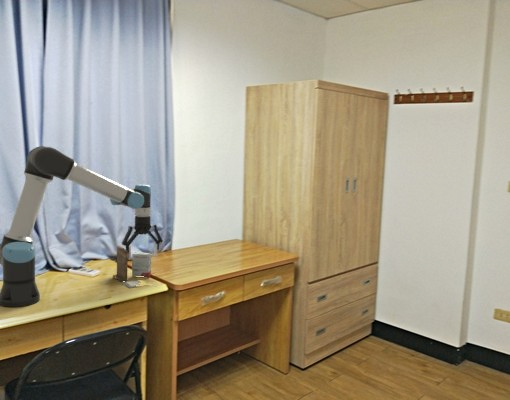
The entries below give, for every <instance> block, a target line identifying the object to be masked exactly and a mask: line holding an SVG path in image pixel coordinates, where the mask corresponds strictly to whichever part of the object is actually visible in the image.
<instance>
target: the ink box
mask: <svg viewBox="0 0 510 400" xmlns="http://www.w3.org/2000/svg"><path fill="white" fill-rule="evenodd" d="M132 276H144V277H147V279H149V278H150V277H151V276H152V253H151V252H138V251H137V252H134V253H131V277H132Z"/></svg>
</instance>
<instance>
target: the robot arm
mask: <svg viewBox="0 0 510 400" xmlns="http://www.w3.org/2000/svg"><path fill="white" fill-rule="evenodd" d="M23 174H24V176H25V177H26V179H25V182H24V185H23V188H22V191H21V194H20V197H19V200H18V203H17V207H16V209H15V213H14V216H13V218H12V221H11V222H12V223H11V225H10V228H9V231H8V232H6V233H5V234H4V233H3V237H2V240H1V243H0V264H1V266H2V286H1V289H0V306H2V307H5V308H17V307H19V308H20V307H25V306H30V305H34V304H36V303H38V302H39V301H41V298H40V297H41V293H40V290H39V289H38V288H39V287H38V285H37V283H36V248H35V246H34V244H33V243H34V239H33V238H32V233H33V230H34V227H35V225H36V221H37V218H38V215H39V211H40V208H41V205H42V202H43V199H44V195H45V193H46V190H47V187H48V184H49V183H51V182H53V181H54V178H58V179H60V180H62V181H66V180H68V181H70V182H73V183H75V184H77V185H79V186H82V187H84V188H86V189H89V190H91V191H93V192H95V193H97V194H100V195H102V196H104V197H106V198H108V199H109V201H110V203H111V205H113V206H124V207H128V208H130V209H133V210H134V215H135V216H134V225H133V226H132V225H128V227H127V232H126V233H125V236H124V238H123V239H122V242H121V245H122V246H125V249H126V250H127V251H128V261H129V260H132V246H131V244H132V243H133V242H134V240H135V239H136V238H137V237H138V236H139V235H148V236H149V238H151V239H152V240H153V241H154V243H153V257H155V258H157V257H158V251H159V249H160V243H162V242H163V239H162V236H161V234H160V232H159V230H158V228H157V227H158V226H157V224H155V223H153V224H151V198H152V197H151V195H152V192H151V190H152V189H151V186H150V185H149V184H141V183H140V184H135V186H134V188H131V189H130V188H128V187H126V186H124V185H122V184H119V183H118V182H115V181H113V180H111V179H109V178H107V177H105V176H104V175H101V174H99V173H97V172H95V171H93V170H90V169H88V168H87V167H84V166H82V165H80V164H79V163H76V159H73V158H71V157H69V156H68V155H65V154H64V153H62V152H61V151H59V150H58V149H55V148H54V147H51V146H40V145H39V146H37V147H34V148H32V149H31V150H30V151H29V152H28V154H27V156H26V166H25V168H24V171H23ZM151 229H152V230H153V232H152V231H150V230H151ZM133 231H134V232H133ZM132 233H133V234H132ZM153 233H154V234H155V235H154V234H153Z"/></svg>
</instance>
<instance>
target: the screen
mask: <svg viewBox="0 0 510 400" xmlns="http://www.w3.org/2000/svg"><path fill="white" fill-rule="evenodd" d="M128 261H129V259H128V251H127V250H126V248H124V247H122V246H121V245H118V246H116V274H113V275H112V276H113V277H114V278H115V277H116V278H117V279H118V280H117V279H116V278H115V279H116V280H117V281H118V282H120V283H122V282H123V281H128Z"/></svg>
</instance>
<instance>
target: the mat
mask: <svg viewBox="0 0 510 400" xmlns="http://www.w3.org/2000/svg"><path fill="white" fill-rule="evenodd" d="M138 280H139V279H134V280H133V279H132V280H127V281H125V282H123V283H124V284H123V283H122V284H123V285H124V286H126V287H127V286H128V287H129V288H128V287H127V288H128V289H131V288H130V287H134V288H137V287H136V285H140V284H139V283H141V282H140V281H138Z"/></svg>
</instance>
